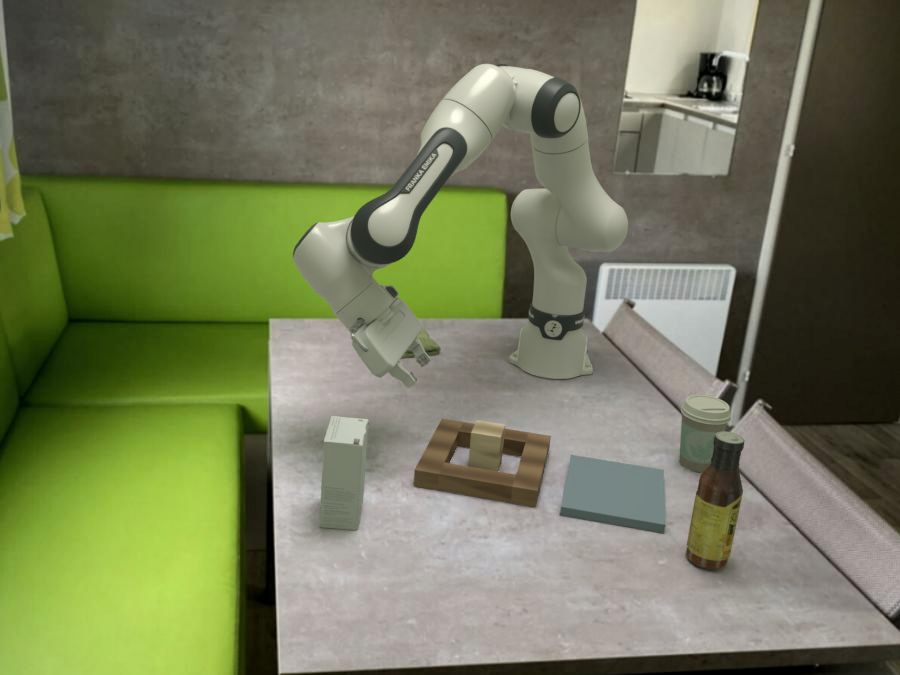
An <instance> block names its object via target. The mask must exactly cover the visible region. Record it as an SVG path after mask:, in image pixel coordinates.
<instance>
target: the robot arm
mask: <svg viewBox="0 0 900 675" xmlns="http://www.w3.org/2000/svg"><path fill="white" fill-rule="evenodd" d="M583 106H584V105H583V102H582V99H581V96H580V94H579V92H578V90H577V87H575V86H574V85H573V84H572V83H571V82H569V81H567V80H566V79H564V78H562V77H560V76H559V77H558V76H557V77H555V76H553V75H551V74H548V73H545V72H543V71H539V70H536V69H533V68H523V67H518V66H509V65H508V64H505V63H492V64H491V63H482V64H478V65H476V66H475V67H473V68H472V69H471V70H470V71H468V72H467V73H466V74H465V75H464V76H463V77H462V78H460V79H459V80H458V82H456V83H455V84H454V86H452V87H451V88H450V90H448V92H447V93H446V94H445V95H444V97H443V98H442V99H441V100H440V101H439V103H438V104H437V105H436V107H434V109H433V111H432V113H431V114H430V116H429V118H428V119H427V121H426V123H425V125H424V127H423V129H422V131H421V133H420V137H419V138H420V147H419V149H418V152H417V154H416V156H415V157H414V158H413V160H412V161H411V162H410V164H409V165H408V166H407V168H406V169H405V170H404V171H403V172H402V174H401V175H400V176H399V178H398V179H397V181H396V182H395V183H394V184H393V185H392V187H391V188H390V189H389V190H387V191H386V192H385V193H383V194H381V195H379V196H377V197H375V198H373V199H370V200H369V201H367V202H366V203H364V204H363V205H362V206H361V207H360V208H359V209H357V211H356V212H355V214H354V215H353V216H350V217H347V218H344V219H340V220H335V221H328V222H327V221H326V222H322V221H318V222H315V223H314V224H312V225H311V226H310V227H309V228H308V229H307V230H306V232H305V233H304V234H303V235H302V236H301V237H300V239H299V240H298V241H297V243H296V245H294V248H293V252H292V260H293V263H294V265H295V267H296V269H297V270H298V271H299V273H300V274H301V276H302V278H303V279H304V280H305V281H306V283H307V284H308V285H309V286H310V288H311V289H312V290H313V291H314V293H315V294H317V296H319V297H321V298H322V299H324V301H326V302H327V304H328V305H329V306H330V307H329V308H330V309H331V311H332V314H334V315H335V317H336V318H337V319H338V320H339V322H341V324H342V325H343V326H344V327H345V328H346V330H348V332H349V333H350V339H351V343H352V347H353V350H354V351H355V353H356V354H357V356H358V357H359V358H360V359H361V361H362V362H363V364H364V365H365V366H366V367H367V369H368V370H369V371H370V373H371V374H373V375H374V376H375V377H376V378H382V377H384V376H386V375H387V374H388V373H389V374H390V376H391V377H393V378H395V379H396V380H399V381H400V382H401V383H402V384H403V385H404V386H405V387H406V388H407V389H410V388H412V387H413V386H414V385H415V384H416V383H417V381H418V378H417V377H416V376H415V374H414V373H413V372H412V371H410V372H409V371H408V370H407V369H405V367H404V364H403V363H402V362H401V361H400V360H401V359H402V358H401V357H402V356H403V355H404V353H405V352H406V351H407V349H409V350H412V352H413V354H414V355H415V357H414V358H415V362H416V363H417V364H418V365H419V366H420V367H422V368H424V367H426V366H427V365H429V363H430V361H431V357H430V356H428V355H427V353H426V352H425V350H424V347H423V345H422V343H421V341H420V340H419V339H418V338H417V336H418V335H419V333H420V332H421V331H422V328H423V327H422V325H421V323H420V320H419V319H418V318H417V316H416V315H415V314H414V312H413V311H412V309H411V307H409V306H408V304H407V303H406V302H405V301H404V300H403V299H402V298H400V297H399V296H400V293H399V290H397V288H396V287H395V286H393V285H384V284H379V282H378V281H377V280H376V279H375V277H374V272H375V271H377V270H380V269H383V268H386V267H388V266H389V265H392V264H393V263H397V262H398V261H400V260H403V258H404V257H406V256H407V255H408V253H410V251H411V250H412V248H413V246H414V245H415V242H416V238H417V234H418V228H419V224H420V221H421V218H422V216H423V214H424V213H425V211H426V210H427V208H428V207H429V205H430V204H431V202H433V200H434V199H435V198H436V196H437V195H438V193H439V192H440V191H441V190H442V188H443V186H444V185H446V183H447V181H448V180H449V179H450V178H452V176H454V175H455V174H457V173H458V172H462V171H465V169H466V168H468V167H469V166H470V165H471V164H473V162H475V161H476V160H477V159H478V158H479V157H480V156H481V155H482V154H483V152H485V151H486V149H487V148H488V147H489V145H490V144H491V143H492V142H493V140H494V139H495V137H496V136H497V134H498V133H499V132H500V130H501V128H502V127H503V128H505V129H508V130H511V131H514V132H520V133H524V134H529V136H530V145H531V151H532V153H531V154H532V158H533V159H532V160H533V165H534V166H533V167H534V173H535V174H534V175H535V176H536V179H537V181H538V182H539V184H540V185H541V186H542V187H544V188H526V189H523V190H522V191H521V192H519V193H518V194H517V196H516V197H515V198H514V201H513V202H512V205H511V209H510V220H511V224H512V227H513V229H514V230H515V231H516V232H517V233H518V235H519V236H520V237H521V238H522V239H523V241H524V242H525V244H526V246H527V249H528V252H529V253H530V256H531V260H532V263H533V270H534V275H533V276H534V280H533V291H532V292H533V295H532V302H531V303H530V304H529V309H528V322H527V323H526V324H524V325H523V326H522V327H520V330H519V331H520V332H519V338H518V346H517V349H516V350H515V351H513V352H512V353H511V354H510V355H509V357H508V362H509V363H510V364H512V365H516V366H517V367H519V369H521V370H522V371H524V372H526V373H527V374H530V375H533V376H536V377H539V378H544V379H554V380H559V379H560V380H565V379H573V378H577V377H578V376H587V375H593V374H594V373H593V372H594V368H593V365H592V362H591V360H590V357H589V354H588V348H587V346H588V342H589V340H588V336H587V334H586V332H585V331H584V330H583V327H584V323H585V322H584V321H585V317H586V315H585V314H586V313H585V309H584V307H585V306H584V304H585V298H586V291H587V282H588V279H587V278H588V277H587V274H586V272H585V270H584V268H583V267H582V266H581V265H580V264H579V263H577V262H576V261H575V260H574V259H573V257H572V256H571V254H570V252H569V249H568V248H572V249H573V248H574V249H577V250H582V251H586V252H591V253H592V252H596V253H597V252H598V253H599V252H600V253H604V252H605V253H606V252H607V253H608V252H609V253H610V252H614V251H615V250H617V249H618V248H619V247H621V245H622V244H623V243H624V240H625V239H626V237H627V235H628V231H629V230H628V229H629V219H628V216H627V213H626V211H625V209H624V207H622V206H621V205H620V204H618V203H617V202H615V200H613V199H612V198H611V197H610V196H609V195H608V193H607V192H606V191H605V189H604V188H603V187H602V185H601V184H600V182H599V180H598V178H597V177H596V174H595V171H594V169H593V166H592V161H591V160H592V159H591V154H590V145H589V134H588V126H587V120H586V115H585V109H584V107H583Z"/></svg>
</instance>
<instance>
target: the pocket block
mask: <svg viewBox="0 0 900 675" xmlns="http://www.w3.org/2000/svg"><path fill="white" fill-rule="evenodd" d="M474 425H475V422H474V423H472V422H467V421H460V420H454V419H448V418H443V417H441V419H440V422H439V423H438V425H437V427H436V428H435V430H434V433H433V434H432V436H431V438H430V440H429V442H428V444H427V446H426V448H425V450H424V451H423V453H422V455H421V457H420V459H419V461H418V463H417V465H416V466H415V468H414V476H413V477H414V478H413V486H414V487H419V488H423V489H429V490H433V491H441V492H447V493H450V494H451V493H452V494H457V495H463V496H469V497H474V498H480V499H486V500H492V501H498V502H502V503H503V502H504V503H508V504H515V505H521V506H525V507H526V506H527V507H531V508H536V507H537V504H538V503H537V502H538V498H539V496H540V495H539V494H540V490H541V487H542V483H543V482H542V481H543V479H544V475H545V474H544V473H545V470H544V469H546V466H545V465H547V460H548V456H549V453H550V447H551V446H550V445H551V437H552V436H551V435H549V434H548V435H547V434H541V433H534V432H528V431H525V430H524V431H523V430H515V429H509V428H505V433H504V443H503V452H502V455H507V454H509V455H508V456H513V455H515V456H514V457H519V456H521V457H520V461H519V463H518V467H517V470H516V473H515V474H514V473H509V472H502V471H499V472H498V471H492V470H486V469H480V468H474V467H468V465H461V464H455V463H451V462H452V460H453V458H452V457H454V455H455V453H456V451H455V450H457V449H456V448H458V447H459V446H461V448H465V447H467V448H466V449H470V440H471V432H472V430H473V427H474ZM457 446H458V447H457ZM548 452H549V453H548ZM451 459H452V460H451ZM450 461H451V462H450Z"/></svg>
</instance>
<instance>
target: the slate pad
mask: <svg viewBox="0 0 900 675" xmlns="http://www.w3.org/2000/svg"><path fill="white" fill-rule="evenodd" d="M664 471H665V470H664V469H661V468H656V467H655V468H654V467H649V466H642V465H637V464H631V463H624V462H619V461H612V460H608V459H607V460H605V459H601V458H600V459H599V458H594V457H589V456H588V457H587V456H583V455H582V456H581V455H575V454H570V458H569V463H568V469H567V473H566V479H565V484H564V490H563V495H562V496H563V497H562V501H561V508H560V513H559V514H560V516H563V517H568V518H569V517H570V518H575V519H581V520H587V521H592V522H593V521H594V522H597V523H604V524H609V525H614V526H621V527H625V528H632V529H637V530H644V531H648V532H654V533H655V532H656V533H661V534H665V530H666V506H665V505H666V502H665V501H666V499H665V472H664Z"/></svg>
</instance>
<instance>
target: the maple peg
mask: <svg viewBox="0 0 900 675" xmlns="http://www.w3.org/2000/svg"><path fill="white" fill-rule="evenodd" d="M474 424H475V425H474V427H473V430H472V432H471V440H470V448H469V454H468V464H467V466H468V467H474V468H480V469H486V470H492V471H499V472H500V468H501V465H502V461H503V460H502V459H503V454H502V452H503V443H504V433H505V429H506V424H503V423H497V422H491V421H484V420H478V419H477V420H475V422H474Z"/></svg>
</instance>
